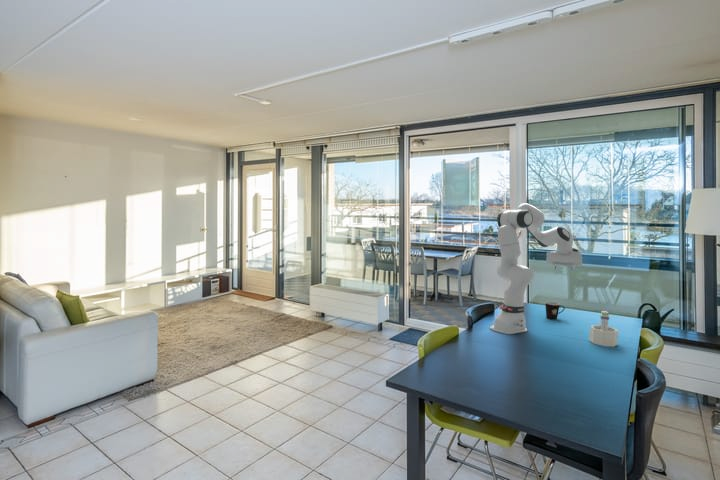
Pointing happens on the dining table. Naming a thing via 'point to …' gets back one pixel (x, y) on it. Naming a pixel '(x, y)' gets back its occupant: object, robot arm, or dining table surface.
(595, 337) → the round wooden bowl
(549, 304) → the coffee mug
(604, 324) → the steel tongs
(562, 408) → the dining table surface
